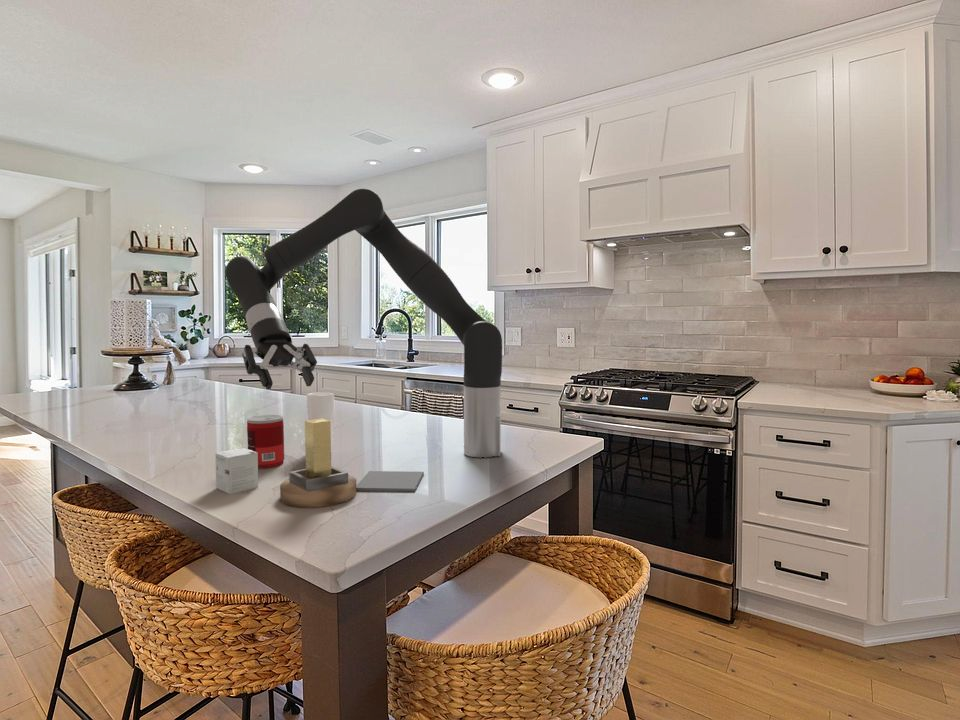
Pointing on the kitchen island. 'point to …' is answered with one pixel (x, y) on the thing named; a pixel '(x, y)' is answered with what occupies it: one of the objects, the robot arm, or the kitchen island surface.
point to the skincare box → (236, 470)
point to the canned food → (266, 439)
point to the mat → (389, 481)
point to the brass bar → (318, 448)
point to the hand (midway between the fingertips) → (290, 385)
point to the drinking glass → (321, 407)
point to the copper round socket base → (317, 489)
